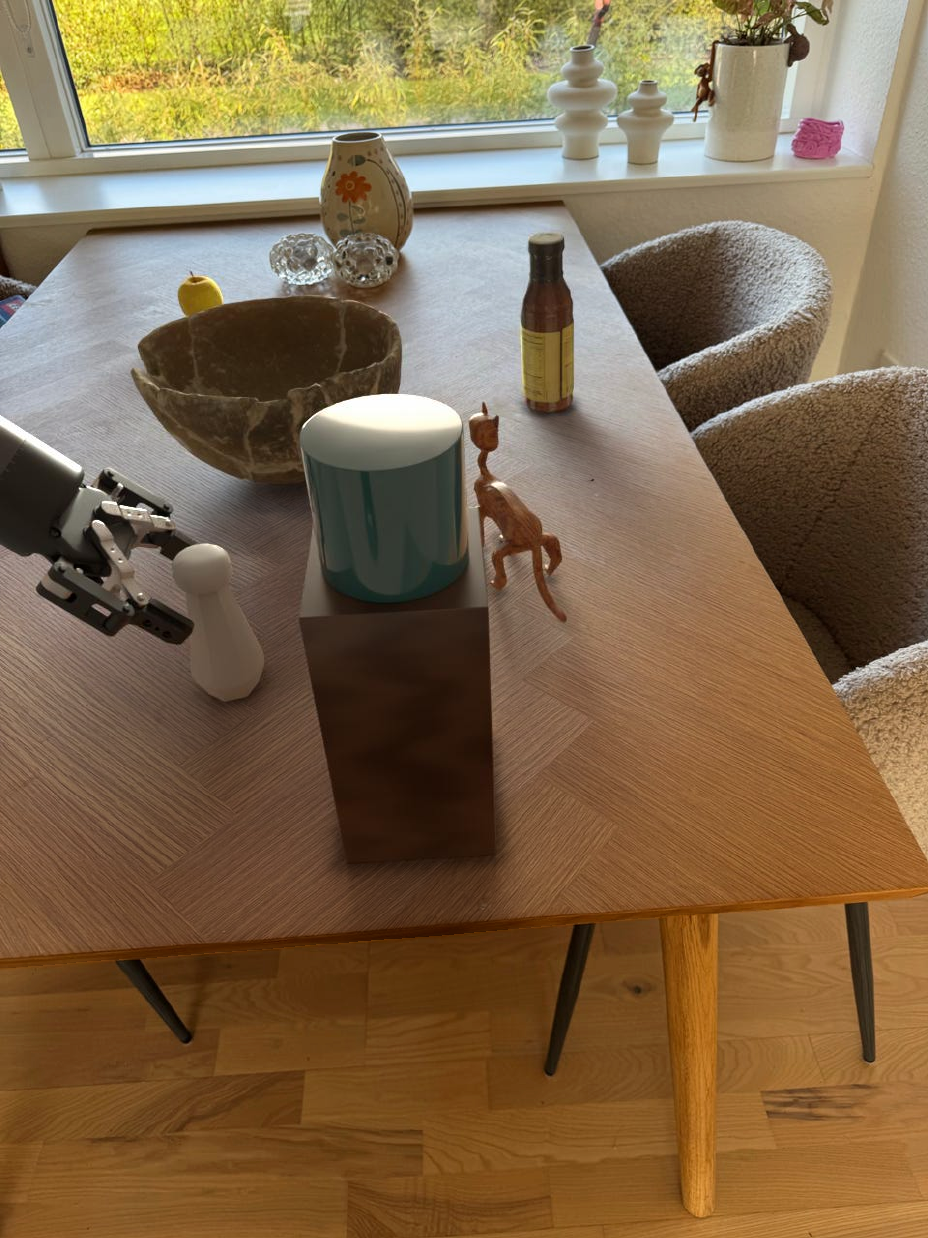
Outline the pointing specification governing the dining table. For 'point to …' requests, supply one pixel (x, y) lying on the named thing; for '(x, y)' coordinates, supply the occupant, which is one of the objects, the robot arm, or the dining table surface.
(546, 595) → the cat figurine
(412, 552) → the white-topped teal cylinder
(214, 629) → the salt shaker
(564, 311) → the sauce bottle
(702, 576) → the dining table surface
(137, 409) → the dining table surface
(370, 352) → the bowl
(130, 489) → the robot arm
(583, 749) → the dining table surface
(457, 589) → the stand
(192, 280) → the apple
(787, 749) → the dining table surface
